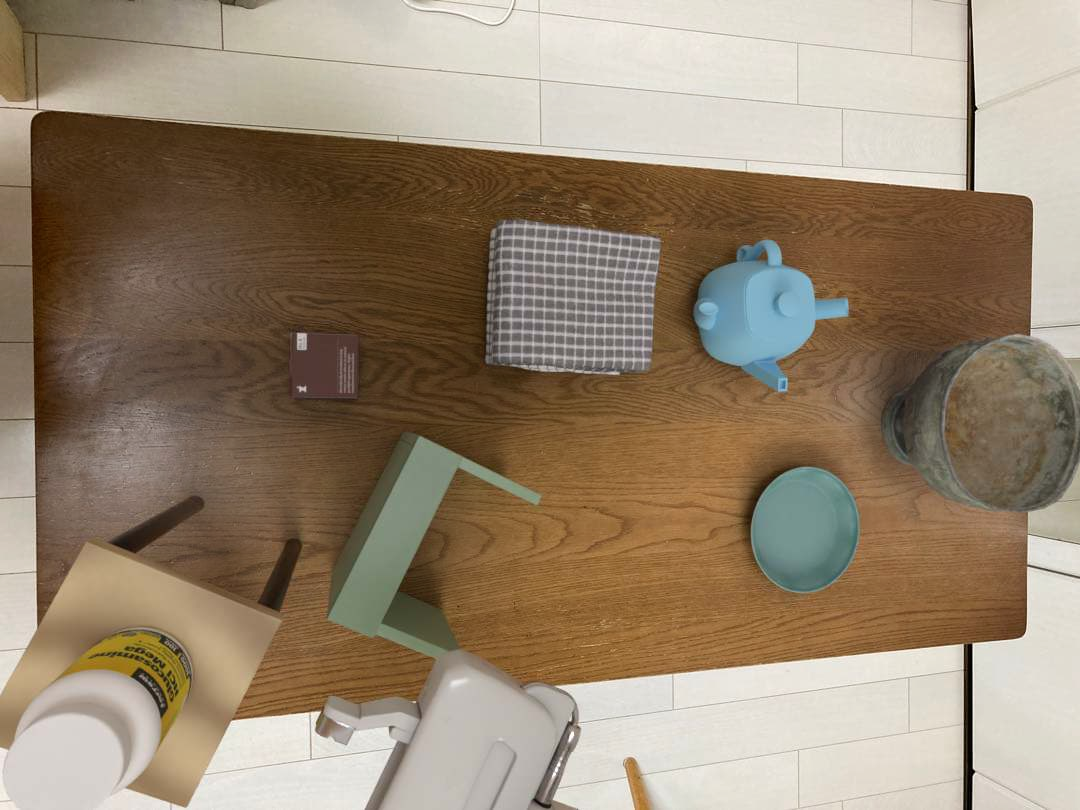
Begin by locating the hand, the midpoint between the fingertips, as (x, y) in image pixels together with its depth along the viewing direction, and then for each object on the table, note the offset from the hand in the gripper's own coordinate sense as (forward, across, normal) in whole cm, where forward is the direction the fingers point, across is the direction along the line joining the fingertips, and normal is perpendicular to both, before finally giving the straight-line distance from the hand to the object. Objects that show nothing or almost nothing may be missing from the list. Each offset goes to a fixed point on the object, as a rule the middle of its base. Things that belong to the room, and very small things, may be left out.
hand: (278, 800), depth 36 cm
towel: (-10, -40, +36) cm, 55 cm away
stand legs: (+10, 0, +36) cm, 37 cm away
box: (+10, -22, +36) cm, 43 cm away
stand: (+10, 0, +9) cm, 13 cm away
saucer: (-46, -30, +36) cm, 66 cm away
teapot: (-29, -48, +36) cm, 66 cm away
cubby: (-6, -12, +36) cm, 38 cm away
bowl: (-57, -49, +36) cm, 83 cm away
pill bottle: (+10, 0, +8) cm, 12 cm away
